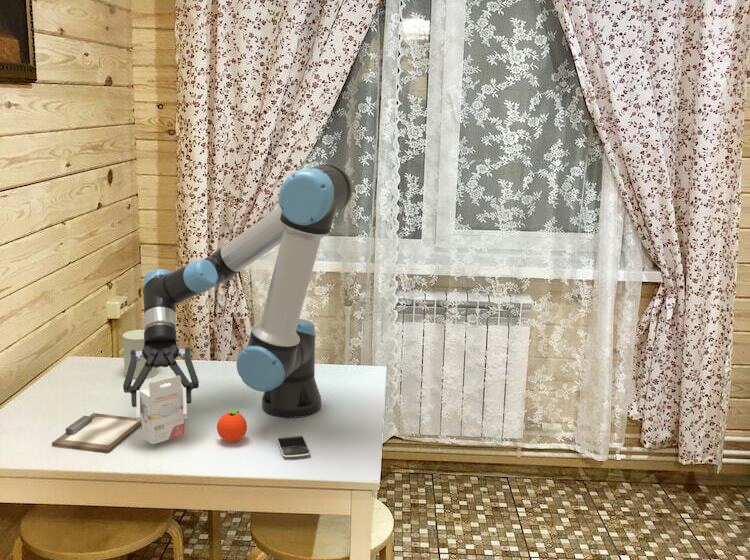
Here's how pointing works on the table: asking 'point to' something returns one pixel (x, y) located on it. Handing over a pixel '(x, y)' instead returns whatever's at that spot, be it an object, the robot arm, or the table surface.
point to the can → (135, 342)
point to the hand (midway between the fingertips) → (162, 417)
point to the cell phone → (293, 447)
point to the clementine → (232, 426)
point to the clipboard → (98, 432)
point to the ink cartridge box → (162, 410)
